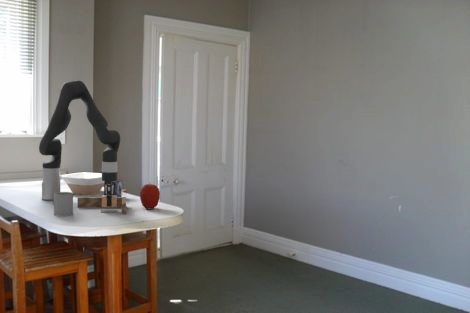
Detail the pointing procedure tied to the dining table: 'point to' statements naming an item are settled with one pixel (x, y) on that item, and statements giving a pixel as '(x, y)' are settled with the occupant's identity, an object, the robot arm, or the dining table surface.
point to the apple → (149, 196)
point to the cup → (63, 204)
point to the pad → (109, 210)
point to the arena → (99, 202)
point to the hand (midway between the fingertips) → (109, 205)
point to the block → (114, 201)
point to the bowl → (84, 182)
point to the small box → (115, 187)
